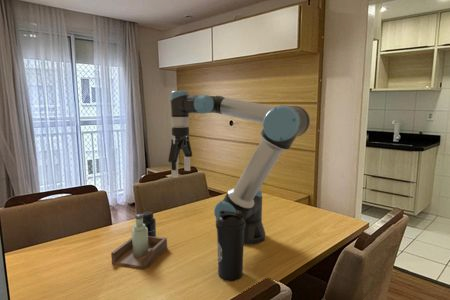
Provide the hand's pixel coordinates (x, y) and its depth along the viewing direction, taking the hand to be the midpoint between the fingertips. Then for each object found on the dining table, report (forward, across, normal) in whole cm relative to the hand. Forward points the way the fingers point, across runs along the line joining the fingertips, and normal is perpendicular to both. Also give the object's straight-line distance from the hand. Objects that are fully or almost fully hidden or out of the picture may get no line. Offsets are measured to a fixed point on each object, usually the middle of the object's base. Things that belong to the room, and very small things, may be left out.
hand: (181, 173), depth 135 cm
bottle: (+28, +23, -8) cm, 37 cm away
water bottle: (+29, +26, +30) cm, 49 cm away
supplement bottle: (+29, +8, -13) cm, 33 cm away
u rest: (+29, +23, -8) cm, 38 cm away
